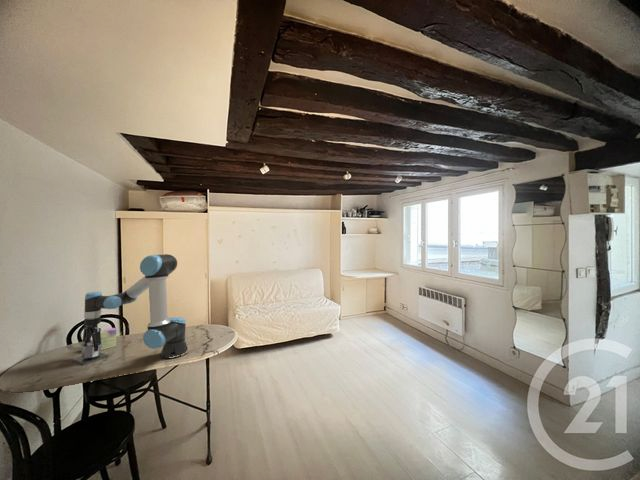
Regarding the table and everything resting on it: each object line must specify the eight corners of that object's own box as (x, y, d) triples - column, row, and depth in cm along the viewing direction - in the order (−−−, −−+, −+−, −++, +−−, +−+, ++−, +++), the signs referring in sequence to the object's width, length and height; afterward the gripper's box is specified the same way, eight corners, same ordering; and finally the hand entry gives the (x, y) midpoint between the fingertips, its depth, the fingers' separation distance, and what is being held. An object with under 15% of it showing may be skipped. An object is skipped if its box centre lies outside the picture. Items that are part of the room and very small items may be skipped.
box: (113, 344, 175) (114, 327, 176) (116, 346, 172) (116, 329, 172) (93, 349, 167) (94, 331, 167) (96, 351, 164) (97, 333, 164)
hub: (102, 354, 155) (103, 342, 155) (86, 359, 148) (86, 347, 148) (95, 351, 158) (96, 340, 158) (79, 356, 151) (79, 344, 151)
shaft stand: (108, 357, 156) (108, 340, 156) (83, 365, 145) (84, 347, 145) (97, 353, 161) (98, 337, 161) (73, 361, 150) (73, 343, 150)
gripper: (109, 318, 153) (108, 355, 152) (91, 313, 161) (89, 349, 161) (94, 321, 146) (92, 361, 145) (75, 316, 154) (74, 354, 154)
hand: (91, 354), depth 153 cm, fingers closed on hub, 8 cm apart
